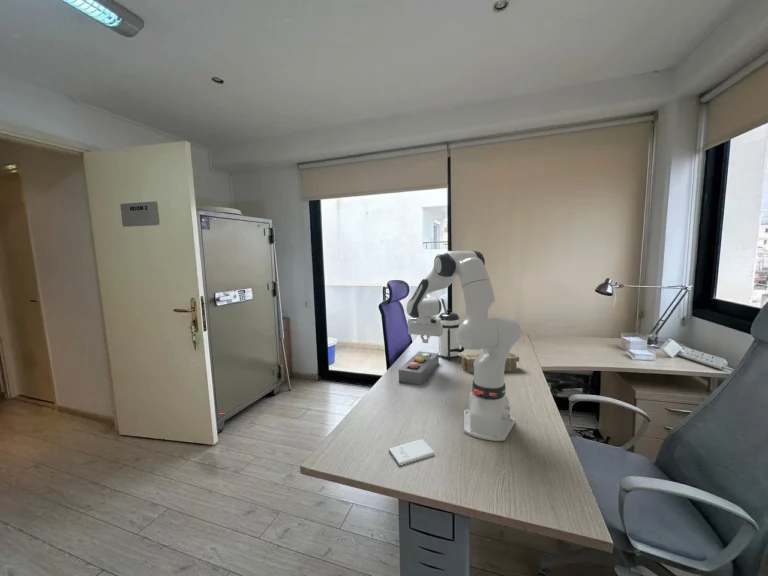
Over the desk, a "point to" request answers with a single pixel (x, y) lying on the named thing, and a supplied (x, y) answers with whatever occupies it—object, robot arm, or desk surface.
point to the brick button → (413, 365)
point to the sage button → (425, 355)
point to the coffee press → (449, 335)
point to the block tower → (469, 359)
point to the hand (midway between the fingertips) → (425, 342)
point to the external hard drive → (411, 451)
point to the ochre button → (419, 359)
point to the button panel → (423, 371)
